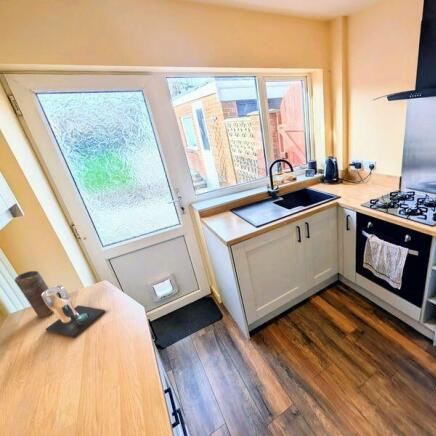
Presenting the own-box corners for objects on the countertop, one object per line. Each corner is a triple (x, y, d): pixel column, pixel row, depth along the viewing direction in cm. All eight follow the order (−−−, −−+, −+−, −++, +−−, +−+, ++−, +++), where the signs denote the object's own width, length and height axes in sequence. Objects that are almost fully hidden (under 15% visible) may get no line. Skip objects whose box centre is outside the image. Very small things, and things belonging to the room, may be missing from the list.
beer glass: (64, 315, 104) (45, 287, 98) (83, 310, 106) (66, 282, 100) (56, 327, 98) (36, 299, 92) (76, 321, 100) (58, 293, 94)
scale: (46, 331, 99) (42, 326, 97) (79, 307, 110) (76, 302, 108) (75, 338, 94) (71, 332, 93) (106, 312, 105) (103, 307, 104)
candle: (54, 304, 114) (31, 268, 105) (64, 306, 111) (41, 270, 103) (35, 316, 107) (8, 280, 99) (45, 319, 105) (19, 282, 97)
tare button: (77, 321, 98) (75, 318, 98) (84, 315, 101) (83, 312, 100) (82, 322, 97) (80, 319, 97) (90, 316, 100) (88, 313, 99)
